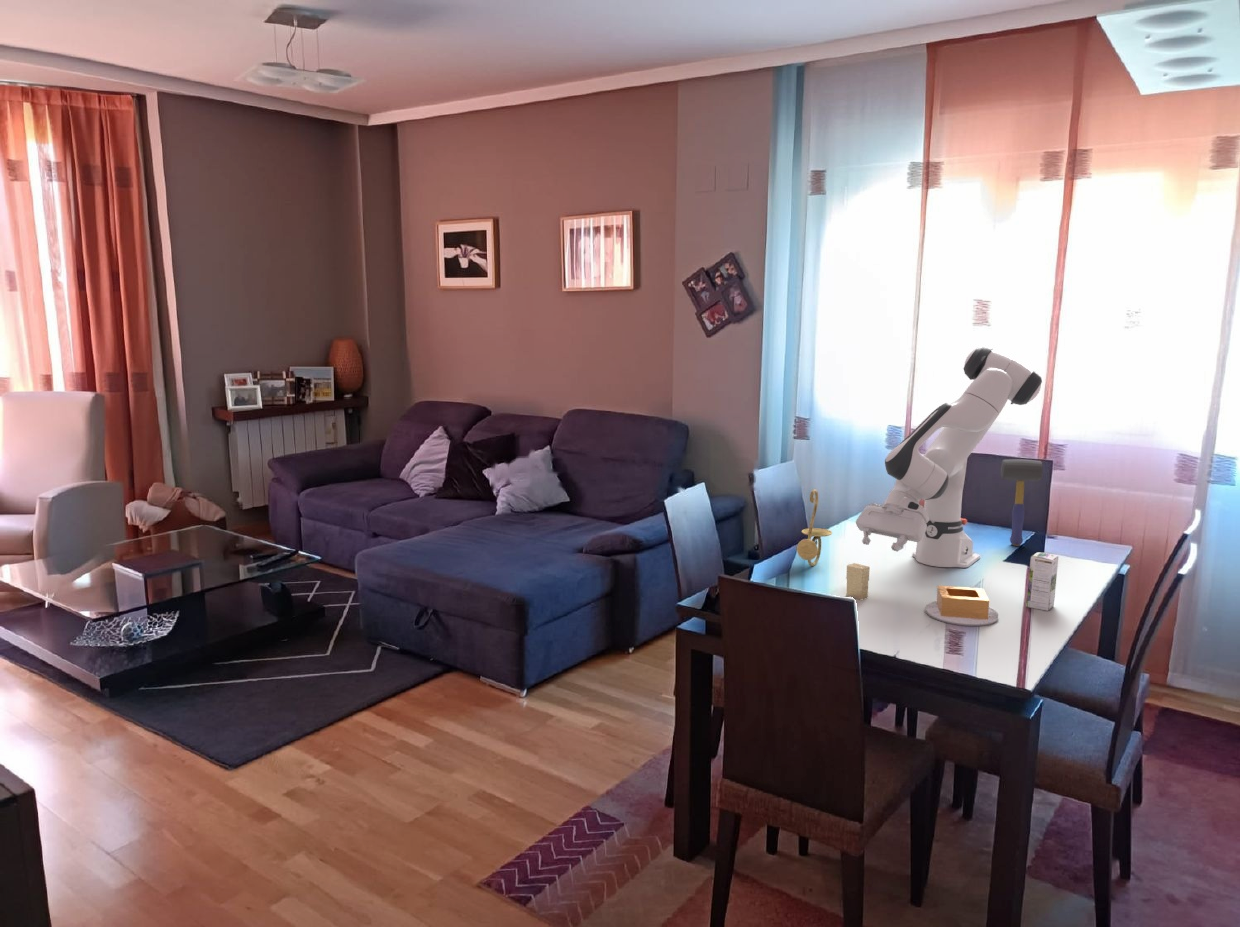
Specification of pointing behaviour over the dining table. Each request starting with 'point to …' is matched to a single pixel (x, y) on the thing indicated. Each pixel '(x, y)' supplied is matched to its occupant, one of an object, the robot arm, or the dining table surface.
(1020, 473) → the rubber mallet
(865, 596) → the wedge
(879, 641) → the dining table surface
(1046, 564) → the syrup box
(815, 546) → the wall sconce
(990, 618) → the socket
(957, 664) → the dining table surface
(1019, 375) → the robot arm
